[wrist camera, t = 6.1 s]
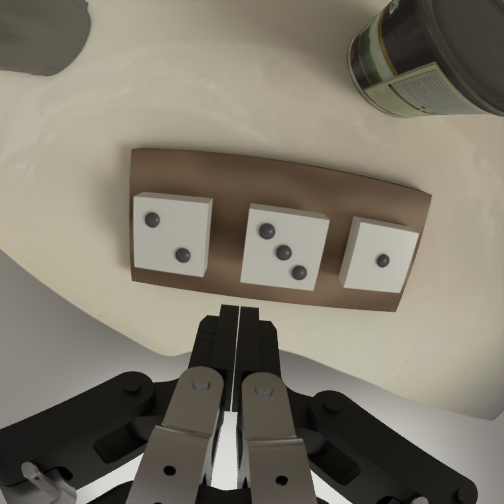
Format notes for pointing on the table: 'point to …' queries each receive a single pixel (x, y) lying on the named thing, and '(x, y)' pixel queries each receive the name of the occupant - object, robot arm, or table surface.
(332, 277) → the tile board
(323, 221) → the tile three
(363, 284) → the tile one
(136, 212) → the tile two
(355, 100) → the table surface
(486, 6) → the coffee can
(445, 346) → the table surface
